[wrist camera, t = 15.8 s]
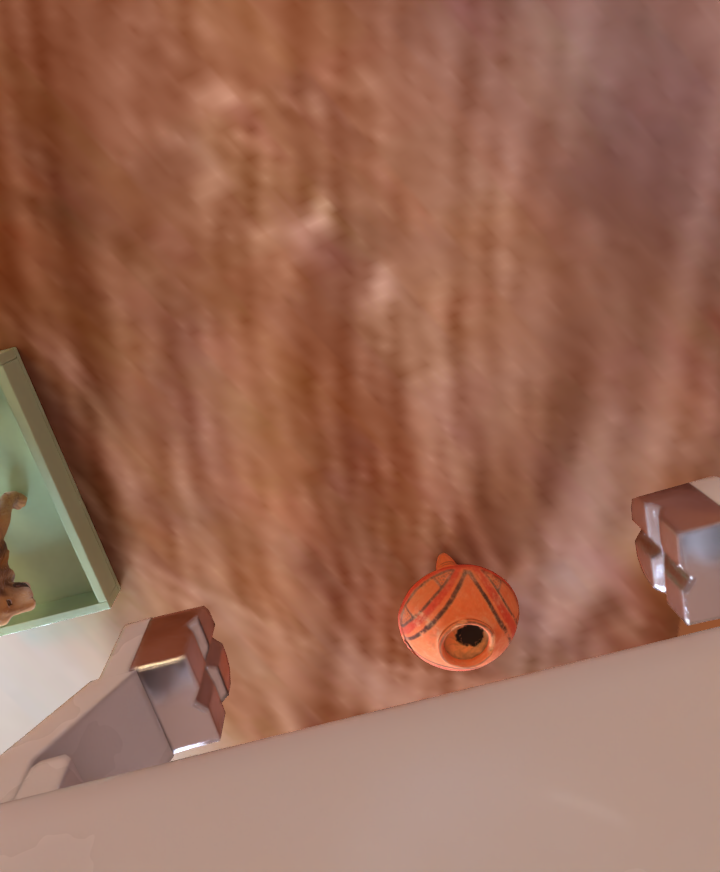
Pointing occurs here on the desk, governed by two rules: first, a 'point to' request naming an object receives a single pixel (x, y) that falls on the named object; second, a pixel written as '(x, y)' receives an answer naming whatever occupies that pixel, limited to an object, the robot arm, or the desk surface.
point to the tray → (46, 513)
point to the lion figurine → (3, 593)
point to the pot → (459, 616)
